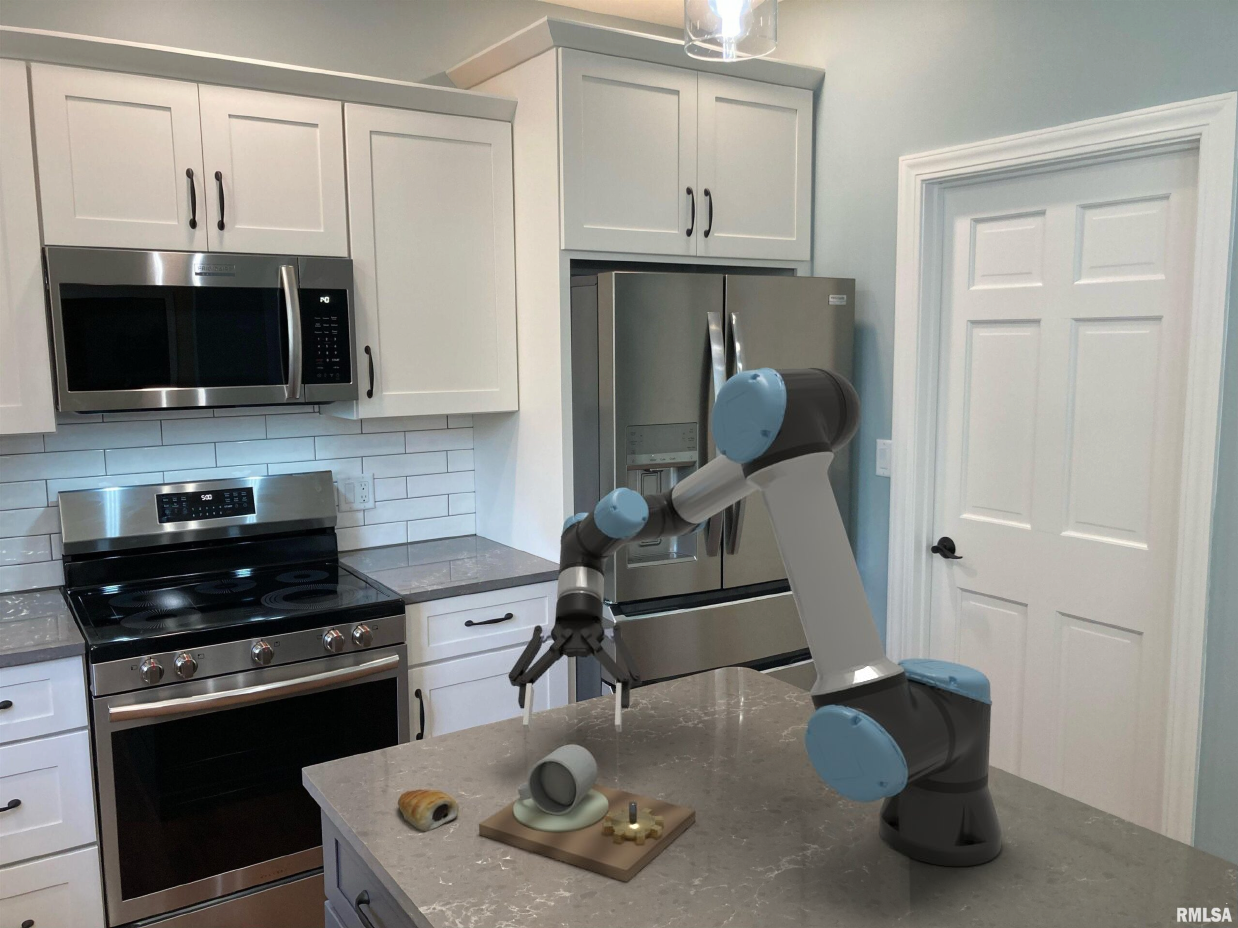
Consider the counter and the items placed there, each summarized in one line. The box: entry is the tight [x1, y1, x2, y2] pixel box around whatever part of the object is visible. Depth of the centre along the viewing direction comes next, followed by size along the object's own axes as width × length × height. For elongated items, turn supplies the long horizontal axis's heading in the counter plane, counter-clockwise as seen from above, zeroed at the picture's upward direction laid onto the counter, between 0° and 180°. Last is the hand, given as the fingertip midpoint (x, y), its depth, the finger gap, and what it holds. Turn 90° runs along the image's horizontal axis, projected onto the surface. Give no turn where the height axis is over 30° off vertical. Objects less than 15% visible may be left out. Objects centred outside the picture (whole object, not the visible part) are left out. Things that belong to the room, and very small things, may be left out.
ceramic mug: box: [517, 744, 599, 815], centre depth 131 cm, size 11×8×8 cm
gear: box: [602, 802, 664, 845], centre depth 124 cm, size 8×8×4 cm
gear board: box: [478, 783, 696, 883], centre depth 128 cm, size 23×18×2 cm
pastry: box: [397, 788, 460, 832], centre depth 132 cm, size 9×7×4 cm
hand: (572, 728), depth 140 cm, fingers open, 13 cm apart
